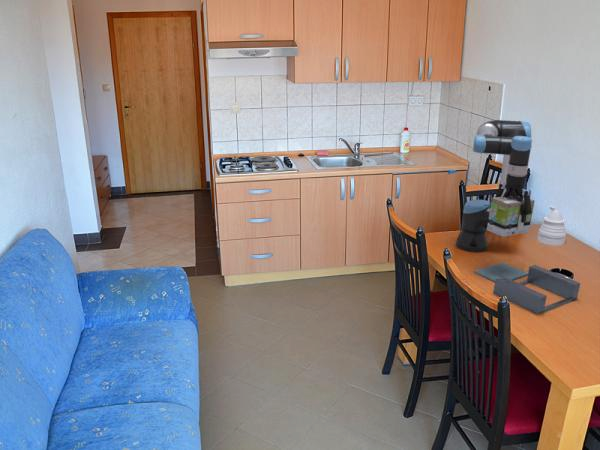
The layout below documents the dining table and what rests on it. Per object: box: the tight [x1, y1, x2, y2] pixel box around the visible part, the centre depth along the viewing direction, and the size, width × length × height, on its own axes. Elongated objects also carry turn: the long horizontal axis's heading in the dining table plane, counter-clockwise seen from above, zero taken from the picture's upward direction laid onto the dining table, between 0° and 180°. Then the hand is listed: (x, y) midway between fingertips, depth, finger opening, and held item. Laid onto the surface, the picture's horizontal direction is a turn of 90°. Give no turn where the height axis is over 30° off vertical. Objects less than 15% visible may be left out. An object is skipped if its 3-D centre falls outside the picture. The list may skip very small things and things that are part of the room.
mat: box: [473, 261, 529, 283], centre depth 234 cm, size 14×19×1 cm
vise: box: [492, 264, 581, 315], centre depth 215 cm, size 20×32×7 cm, turn 122°
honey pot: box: [536, 205, 567, 246], centre depth 271 cm, size 13×13×18 cm
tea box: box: [486, 196, 535, 238], centre depth 225 cm, size 15×10×15 cm, turn 118°
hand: (508, 225), depth 227 cm, fingers closed on tea box, 10 cm apart
